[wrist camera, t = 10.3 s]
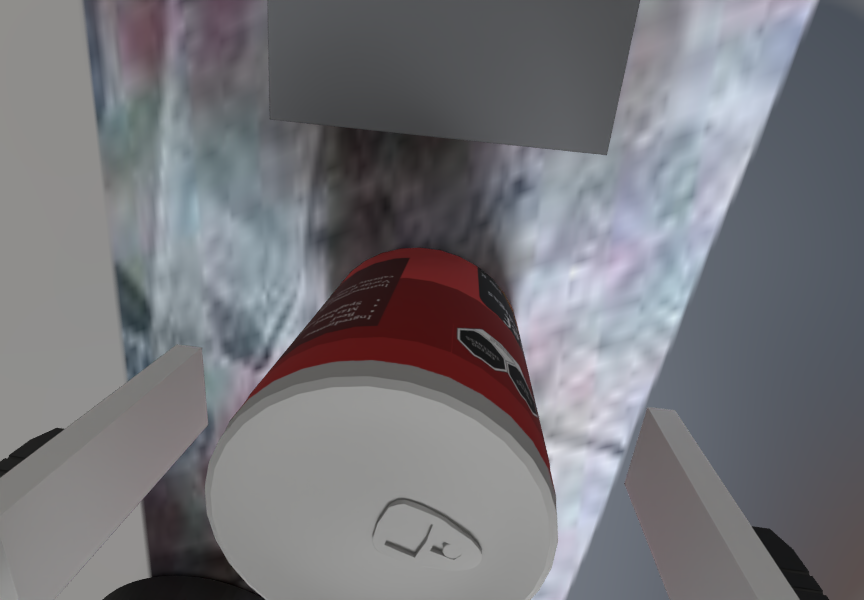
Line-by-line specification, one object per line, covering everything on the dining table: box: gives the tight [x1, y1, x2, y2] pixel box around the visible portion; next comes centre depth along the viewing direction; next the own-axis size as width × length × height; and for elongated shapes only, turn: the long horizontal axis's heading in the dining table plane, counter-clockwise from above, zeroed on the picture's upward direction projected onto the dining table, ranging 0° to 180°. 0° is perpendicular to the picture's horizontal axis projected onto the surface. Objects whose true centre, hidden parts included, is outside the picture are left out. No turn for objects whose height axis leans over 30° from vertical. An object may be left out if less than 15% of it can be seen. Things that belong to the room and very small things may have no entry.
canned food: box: [205, 248, 558, 600], centre depth 16 cm, size 8×8×11 cm
